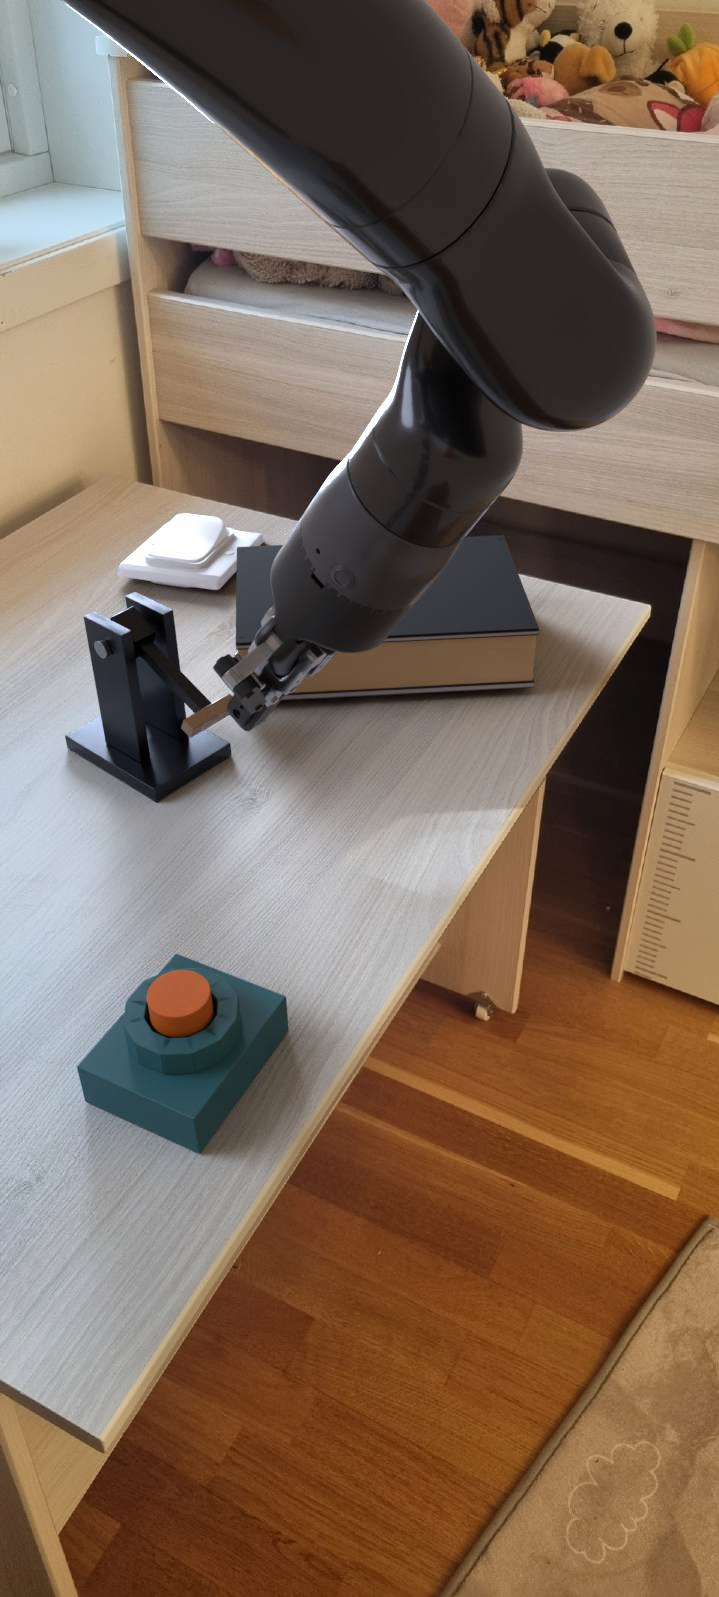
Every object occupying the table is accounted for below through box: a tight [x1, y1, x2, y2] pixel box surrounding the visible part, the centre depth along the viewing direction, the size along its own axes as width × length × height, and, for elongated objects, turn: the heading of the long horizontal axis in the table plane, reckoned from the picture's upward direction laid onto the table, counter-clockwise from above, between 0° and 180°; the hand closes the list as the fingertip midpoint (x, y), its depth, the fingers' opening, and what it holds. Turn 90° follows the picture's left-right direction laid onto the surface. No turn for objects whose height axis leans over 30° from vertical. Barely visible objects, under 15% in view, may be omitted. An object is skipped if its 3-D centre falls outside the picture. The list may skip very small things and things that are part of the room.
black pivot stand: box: [64, 591, 232, 803], centre depth 93 cm, size 11×8×13 cm
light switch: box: [117, 512, 265, 591], centre depth 122 cm, size 11×4×13 cm
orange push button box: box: [76, 953, 290, 1155], centre depth 70 cm, size 10×8×5 cm
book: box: [235, 534, 540, 702], centre depth 107 cm, size 17×25×7 cm
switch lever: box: [109, 607, 233, 738], centre depth 89 cm, size 11×5×2 cm, turn 49°
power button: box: [147, 970, 213, 1038], centre depth 68 cm, size 4×4×2 cm
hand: (243, 716), depth 76 cm, fingers closed
